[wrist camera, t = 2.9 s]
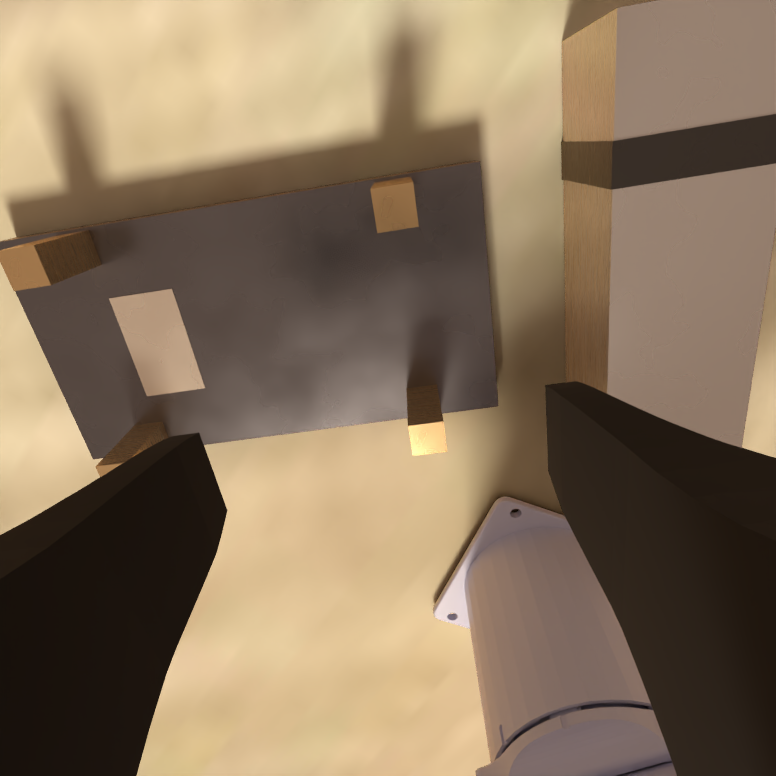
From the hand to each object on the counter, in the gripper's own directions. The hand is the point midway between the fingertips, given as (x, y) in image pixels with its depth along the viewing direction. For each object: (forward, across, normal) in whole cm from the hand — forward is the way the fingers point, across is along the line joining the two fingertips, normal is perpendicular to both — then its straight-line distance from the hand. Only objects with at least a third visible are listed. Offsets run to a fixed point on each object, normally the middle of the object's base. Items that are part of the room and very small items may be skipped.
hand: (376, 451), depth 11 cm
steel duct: (+10, -9, 0) cm, 14 cm away
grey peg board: (+10, +5, 0) cm, 11 cm away
